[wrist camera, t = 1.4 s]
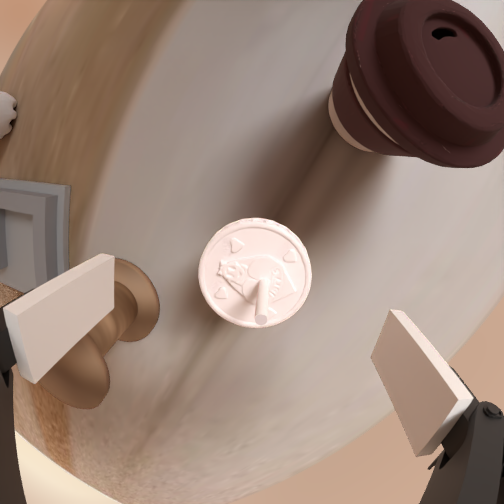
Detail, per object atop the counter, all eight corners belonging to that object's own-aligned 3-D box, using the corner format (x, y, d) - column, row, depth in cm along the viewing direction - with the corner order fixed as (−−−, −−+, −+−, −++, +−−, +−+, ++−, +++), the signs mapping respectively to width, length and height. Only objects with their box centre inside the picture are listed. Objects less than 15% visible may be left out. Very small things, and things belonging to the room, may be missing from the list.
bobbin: (85, 250, 27) (5, 293, 15) (162, 268, 26) (96, 331, 15) (89, 324, 29) (28, 383, 18) (158, 346, 29) (111, 424, 17)
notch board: (-1, 178, 25) (-17, 180, 22) (70, 185, 25) (52, 188, 22) (3, 279, 29) (-11, 286, 26) (71, 307, 29) (57, 318, 26)
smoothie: (283, 283, 26) (293, 389, 13) (215, 261, 26) (161, 350, 12) (308, 215, 24) (350, 268, 11) (235, 192, 24) (191, 217, 11)
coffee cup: (410, 177, 23) (533, 194, 8) (305, 155, 23) (356, 130, 9) (417, 79, 20) (520, 25, 6) (316, 51, 20) (358, -57, 6)
